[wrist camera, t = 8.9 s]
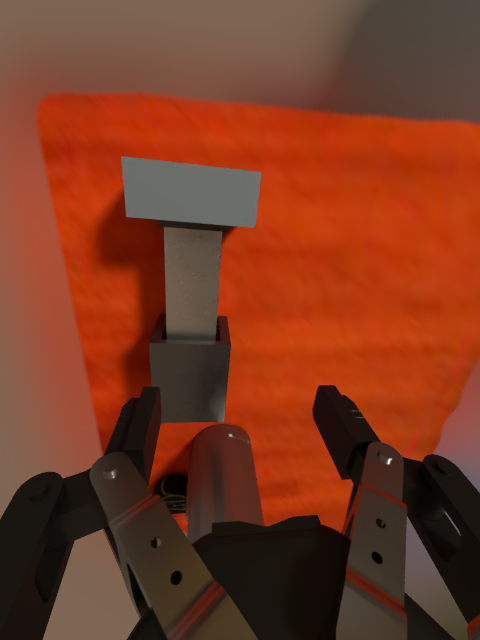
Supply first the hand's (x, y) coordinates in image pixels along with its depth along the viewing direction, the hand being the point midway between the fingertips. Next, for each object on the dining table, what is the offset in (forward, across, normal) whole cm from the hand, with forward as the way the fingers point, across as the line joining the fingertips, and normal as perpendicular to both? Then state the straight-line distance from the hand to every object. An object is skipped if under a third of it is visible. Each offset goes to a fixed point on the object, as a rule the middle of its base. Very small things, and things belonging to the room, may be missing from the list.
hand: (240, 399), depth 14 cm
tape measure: (+21, +6, +37) cm, 43 cm away
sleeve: (+20, +3, +10) cm, 22 cm away
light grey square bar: (+20, +3, -1) cm, 20 cm away
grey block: (+20, +3, -9) cm, 22 cm away
